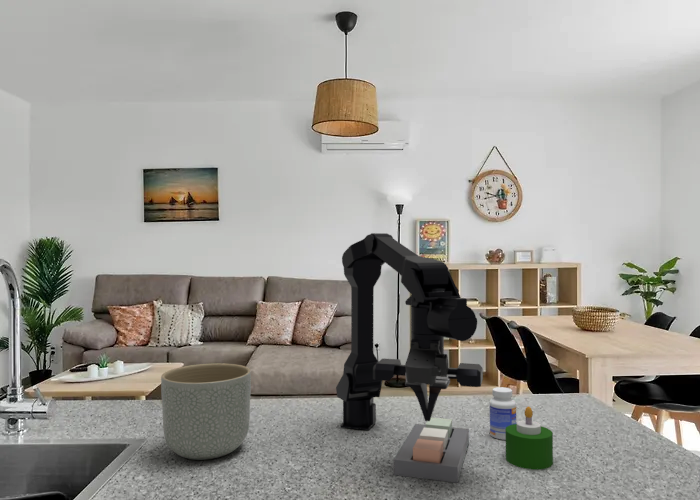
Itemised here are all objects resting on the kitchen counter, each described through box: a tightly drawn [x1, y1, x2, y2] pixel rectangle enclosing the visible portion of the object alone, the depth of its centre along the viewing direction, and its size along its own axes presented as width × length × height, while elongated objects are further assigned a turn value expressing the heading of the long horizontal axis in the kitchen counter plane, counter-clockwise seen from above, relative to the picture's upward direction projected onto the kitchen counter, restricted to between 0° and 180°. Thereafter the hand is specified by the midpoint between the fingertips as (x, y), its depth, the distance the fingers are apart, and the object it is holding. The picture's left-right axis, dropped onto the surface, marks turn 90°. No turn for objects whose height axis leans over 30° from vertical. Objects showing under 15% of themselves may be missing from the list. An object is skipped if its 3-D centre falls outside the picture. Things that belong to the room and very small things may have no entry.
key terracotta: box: [413, 439, 443, 463], centre depth 95 cm, size 5×5×2 cm
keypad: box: [392, 423, 470, 484], centre depth 101 cm, size 11×20×3 cm, turn 162°
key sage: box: [425, 417, 453, 438], centre depth 107 cm, size 5×5×2 cm
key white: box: [420, 427, 448, 450], centre depth 101 cm, size 5×5×2 cm
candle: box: [505, 406, 554, 471], centre depth 99 cm, size 8×8×10 cm
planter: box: [160, 362, 252, 461], centre depth 105 cm, size 17×17×15 cm
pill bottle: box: [488, 386, 517, 441], centre depth 112 cm, size 5×5×10 cm
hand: (427, 420), depth 95 cm, fingers closed
